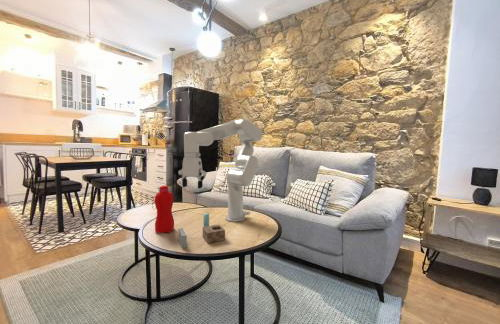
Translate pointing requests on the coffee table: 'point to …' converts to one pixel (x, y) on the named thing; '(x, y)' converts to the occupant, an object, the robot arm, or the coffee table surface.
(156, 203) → the water bottle
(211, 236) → the block
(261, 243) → the coffee table surface
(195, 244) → the coffee table surface
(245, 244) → the coffee table surface
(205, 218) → the dowel
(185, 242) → the wall
